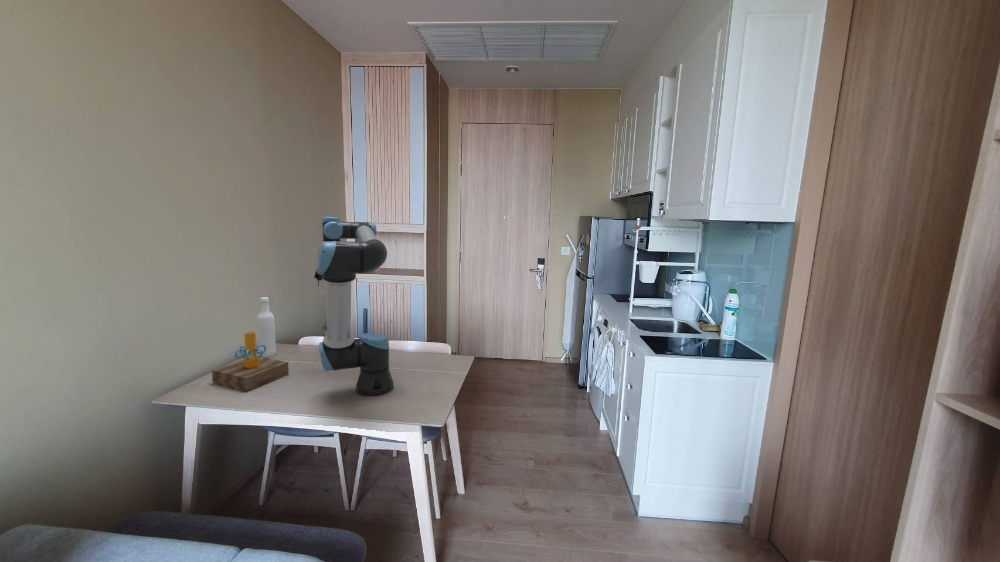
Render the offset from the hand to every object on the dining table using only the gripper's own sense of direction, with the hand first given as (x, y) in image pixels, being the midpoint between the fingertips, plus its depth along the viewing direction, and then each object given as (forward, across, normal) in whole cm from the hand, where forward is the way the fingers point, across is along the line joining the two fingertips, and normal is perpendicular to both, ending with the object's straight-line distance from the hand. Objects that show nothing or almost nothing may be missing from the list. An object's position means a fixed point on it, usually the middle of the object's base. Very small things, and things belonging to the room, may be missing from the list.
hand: (333, 294), depth 187 cm
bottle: (+35, +40, +4) cm, 53 cm away
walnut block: (+35, +19, +29) cm, 49 cm away
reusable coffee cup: (+35, +15, -17) cm, 42 cm away
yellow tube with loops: (+29, +19, +29) cm, 45 cm away
